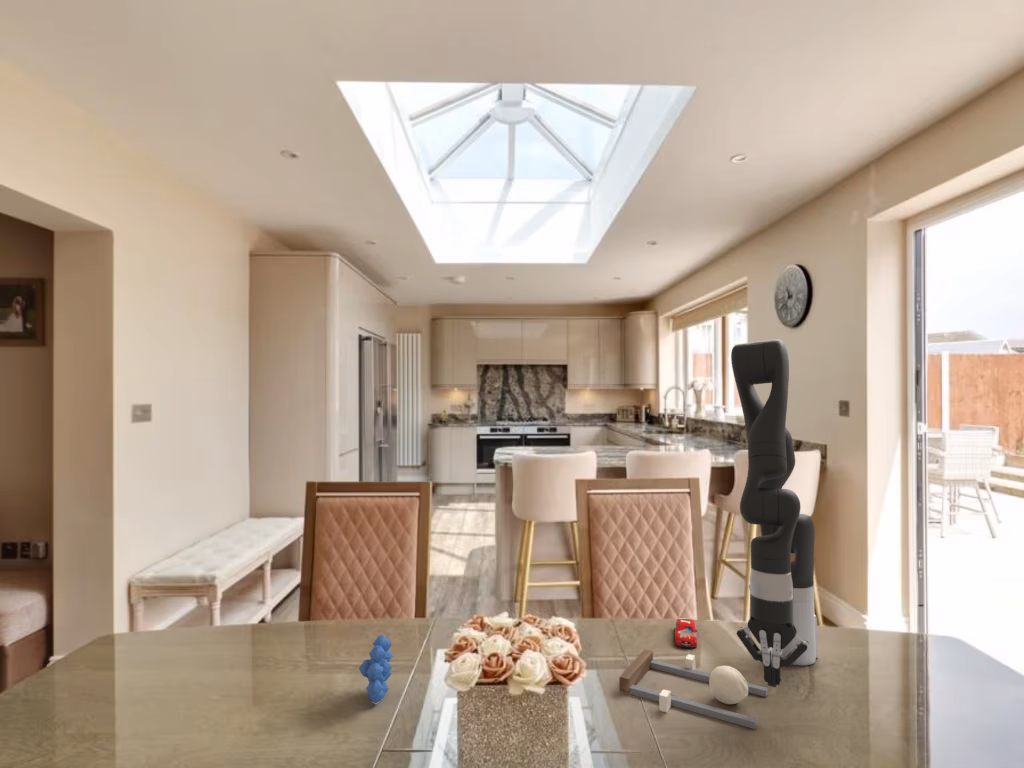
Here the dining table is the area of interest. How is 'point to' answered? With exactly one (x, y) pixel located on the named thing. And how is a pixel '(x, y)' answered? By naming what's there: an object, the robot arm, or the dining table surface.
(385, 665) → the grapes
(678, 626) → the race car
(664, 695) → the line posts
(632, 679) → the backstop
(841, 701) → the dining table surface
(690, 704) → the rails
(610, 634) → the dining table surface
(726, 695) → the cream round ball
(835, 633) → the dining table surface
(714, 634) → the dining table surface
